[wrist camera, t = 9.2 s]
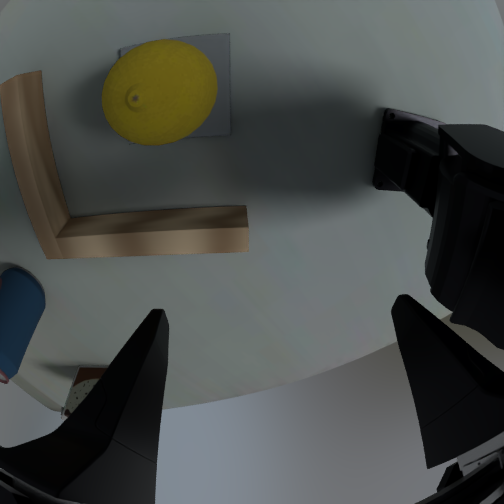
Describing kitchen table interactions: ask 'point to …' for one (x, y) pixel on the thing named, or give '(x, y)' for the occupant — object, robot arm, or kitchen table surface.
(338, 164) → the kitchen table surface
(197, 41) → the mat
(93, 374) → the food container
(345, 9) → the kitchen table surface
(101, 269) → the kitchen table surface
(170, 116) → the lemon
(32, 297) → the soda can
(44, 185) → the l-shaped wooden corner
